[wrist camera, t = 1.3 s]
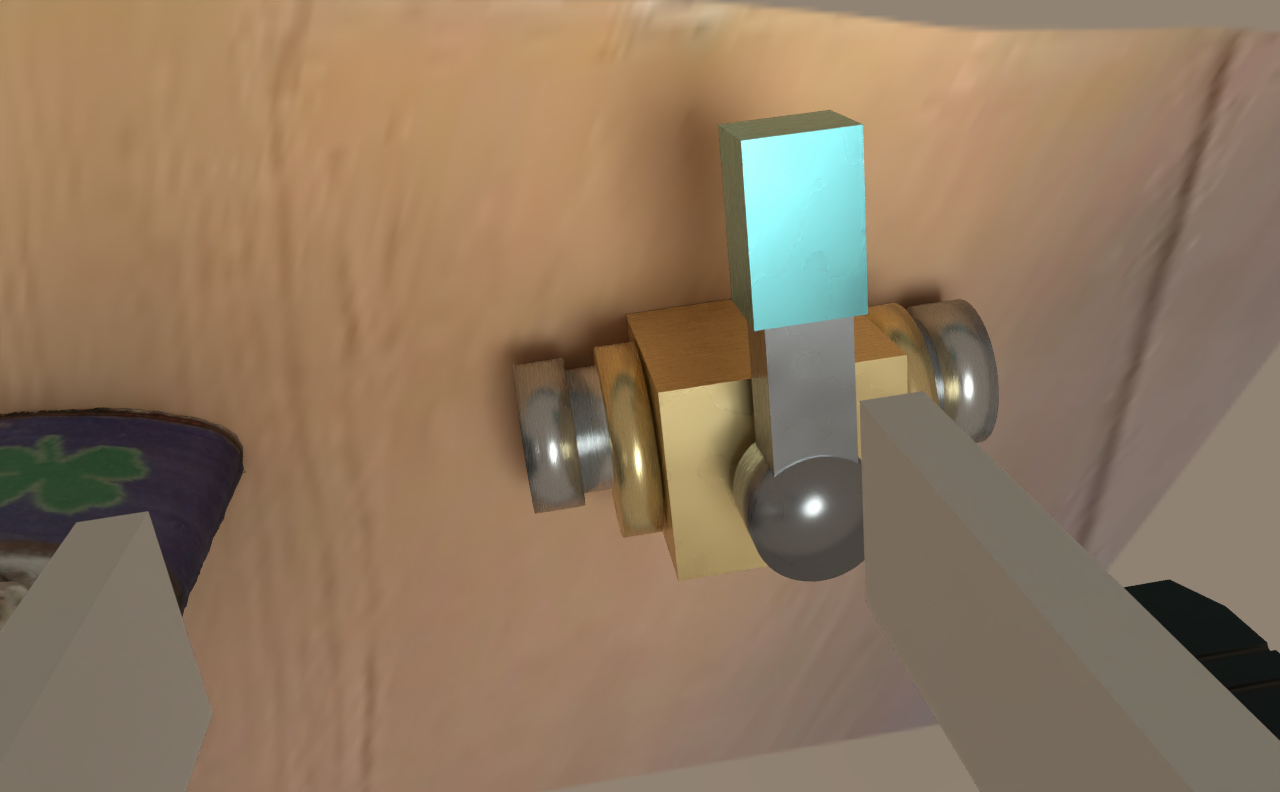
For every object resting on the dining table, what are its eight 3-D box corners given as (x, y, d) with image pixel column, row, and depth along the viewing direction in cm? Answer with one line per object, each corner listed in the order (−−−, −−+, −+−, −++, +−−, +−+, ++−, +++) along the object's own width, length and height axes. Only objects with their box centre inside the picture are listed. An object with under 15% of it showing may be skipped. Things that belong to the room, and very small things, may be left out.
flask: (-51, 486, 35) (-254, 691, 25) (-63, 401, 34) (-281, 581, 24) (249, 492, 37) (168, 688, 27) (246, 411, 36) (160, 584, 26)
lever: (859, 526, 31) (889, 571, 29) (736, 546, 31) (757, 593, 29) (845, 107, 27) (880, 122, 25) (702, 127, 27) (723, 143, 24)
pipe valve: (533, 488, 39) (547, 610, 31) (507, 327, 36) (515, 420, 29) (939, 424, 40) (1040, 527, 33) (939, 265, 37) (1048, 338, 30)
